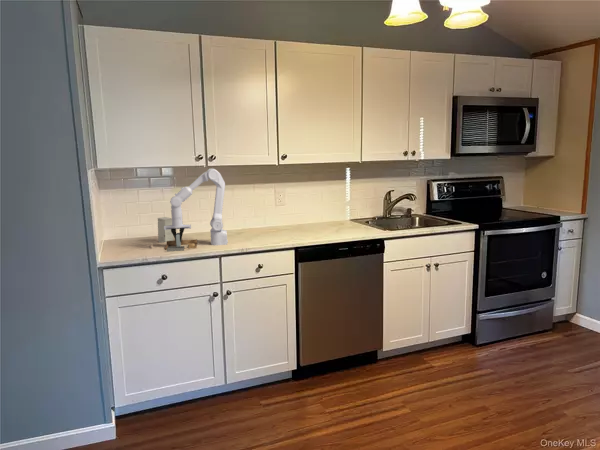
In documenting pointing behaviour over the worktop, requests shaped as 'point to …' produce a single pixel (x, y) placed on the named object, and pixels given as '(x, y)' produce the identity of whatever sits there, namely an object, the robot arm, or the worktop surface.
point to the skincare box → (163, 234)
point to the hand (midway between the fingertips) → (178, 241)
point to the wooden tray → (182, 243)
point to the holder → (175, 248)
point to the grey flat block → (178, 239)
